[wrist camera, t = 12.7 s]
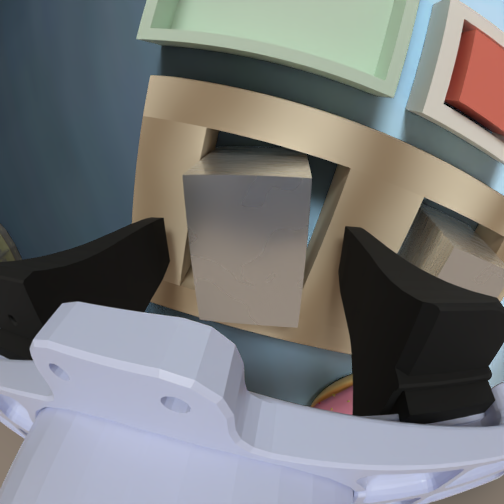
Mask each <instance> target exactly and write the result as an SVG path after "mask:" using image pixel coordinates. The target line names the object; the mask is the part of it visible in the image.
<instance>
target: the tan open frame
mask: <svg viewBox="0 0 504 504" xmlns="http://www.w3.org/2000/svg"><path fill="white" fill-rule="evenodd" d="M219 130H220V131H224V132H229V133H233V134H237V135H241V136H245V137H249V138H253V139H257V140H261V141H264V142H268V143H272V144H275V145H279V146H283V147H286V148H289V149H293V150H296V151H300V152H303V153H306V154H309V155H312V156H316V157H319V158H322V159H325V160H328V161H331V162H334V163H337V164H338V165H337V168H336V171H335V174H334V177H333V179H332V182H331V185H330V188H329V191H328V193H327V196H326V199H325V202H324V204H323V207H322V210H321V213H320V215H319V218H318V221H317V223H316V226H315V229H314V231H313V234H312V237H311V239H310V242H309V244H308V247H307V250H306V259H305V269H304V279H303V288H302V297H301V306H300V314H299V322H298V328H294V327H278V326H264V325H251V324H239V323H228V322H218V321H214V322H218V323H221V324H225V325H228V326H232V327H236V328H239V329H243V330H247V331H251V332H254V333H258V334H262V335H266V336H270V337H274V338H278V339H282V340H287V341H291V342H295V343H299V344H304V345H308V346H313V347H317V348H322V349H327V350H331V351H336V352H341V353H346V354H351V343H350V336H349V331H348V326H347V322H346V317H345V312H344V308H343V303H342V299H341V294H340V287H339V275H338V270H339V264H340V257H341V251H342V245H343V238H344V231H345V226H351V227H361V228H363V229H364V230H366V231H367V232H369V233H370V234H371V235H373V236H374V237H375V238H377V239H378V240H379V241H380V242H382V243H383V244H384V245H386V246H387V247H388V248H390V249H391V250H392V251H394V252H395V253H396V254H397V253H398V251H399V249H400V247H401V245H402V243H403V241H404V239H405V237H406V235H407V233H408V231H409V229H410V227H411V225H412V223H413V221H414V218H415V216H416V214H417V212H418V210H419V207H420V205H421V203H422V201H423V198H424V197H425V198H427V199H429V200H432V201H434V202H436V203H438V204H440V205H443V206H445V207H447V208H449V209H451V210H453V211H455V212H457V213H459V214H461V215H464V216H466V217H468V218H470V219H472V220H474V221H475V222H477V223H479V224H478V227H477V229H476V231H475V232H476V233H477V234H478V236H479V237H480V238H481V239H482V240H483V241H484V242H485V243H486V244H487V245H488V246H489V247H490V248H491V249H492V250H493V251H494V252H495V254H496V255H497V256H498V257H499V258H500V259H501V260H502V261H503V263H504V196H503V195H502V194H500V193H499V192H497V191H495V190H494V189H492V188H491V187H489V186H487V185H486V184H484V183H482V182H481V181H479V180H477V179H476V178H474V177H472V176H471V175H469V174H467V173H465V172H463V171H462V170H460V169H458V168H456V167H454V166H453V165H451V164H449V163H447V162H445V161H443V160H441V159H439V158H437V157H435V156H433V155H431V154H429V153H427V152H425V151H423V150H421V149H419V148H417V147H415V146H412V145H410V144H408V143H406V142H404V141H401V140H399V139H397V138H394V137H392V136H390V135H387V134H385V133H383V132H380V131H378V130H375V129H373V128H370V127H368V126H365V125H363V124H360V123H357V122H355V121H352V120H349V119H346V118H344V117H341V116H338V115H335V114H332V113H329V112H326V111H323V110H320V109H317V108H314V107H310V106H307V105H304V104H301V103H297V102H294V101H290V100H287V99H283V98H279V97H275V96H272V95H268V94H264V93H260V92H255V91H251V90H247V89H242V88H238V87H233V86H228V85H223V84H217V83H212V82H206V81H200V80H194V79H188V78H181V77H173V76H155V75H151V76H150V81H149V86H148V91H147V96H146V102H145V108H144V114H143V120H142V127H141V134H140V141H139V149H138V157H137V166H136V176H135V186H134V199H133V213H132V224H133V223H135V222H137V221H140V220H143V219H146V218H150V217H156V218H164V223H165V230H166V237H167V244H168V250H169V257H170V263H169V265H168V268H167V271H166V273H165V275H164V278H163V280H162V282H161V284H160V285H159V287H158V289H157V291H156V292H155V294H154V296H153V297H152V299H151V301H150V302H152V303H156V304H159V305H162V306H165V307H168V308H171V309H174V310H177V311H181V312H184V313H187V314H190V315H194V316H197V317H199V313H198V306H197V299H196V292H195V285H194V278H193V270H192V262H191V254H190V246H189V237H188V228H187V219H186V209H185V199H184V188H183V177H182V175H183V174H184V173H185V172H187V171H188V170H189V169H190V168H191V167H193V166H194V165H195V164H196V163H198V162H199V161H200V160H201V159H202V158H204V157H205V156H206V155H207V154H209V153H210V152H211V151H213V150H214V149H215V147H216V142H217V138H218V133H219ZM503 297H504V288H503V290H502V291H501V293H500V294H499V296H498V297H497V298H498V300H499V301H500V302H501V300H502V299H503ZM351 355H352V354H351Z"/></svg>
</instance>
